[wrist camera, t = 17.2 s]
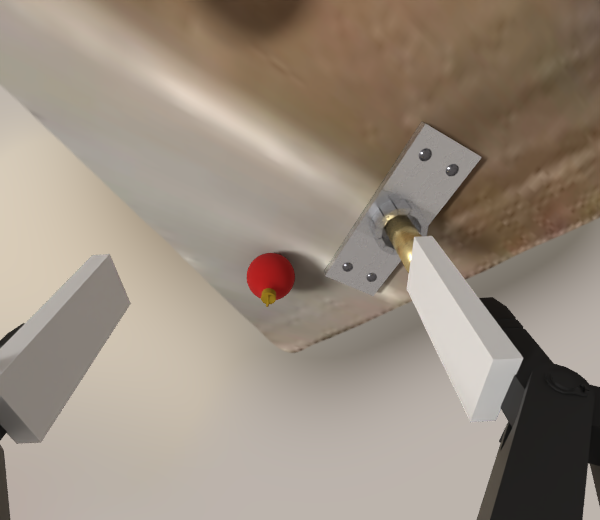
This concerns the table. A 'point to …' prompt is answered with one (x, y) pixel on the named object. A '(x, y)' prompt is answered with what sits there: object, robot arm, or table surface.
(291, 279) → the christmas ornament
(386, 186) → the hinge leaves
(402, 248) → the hinge pin
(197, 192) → the table surface
